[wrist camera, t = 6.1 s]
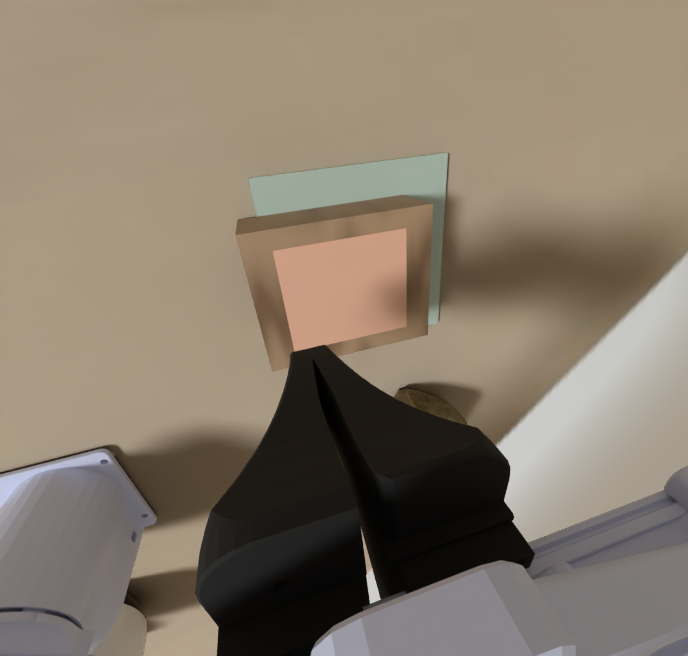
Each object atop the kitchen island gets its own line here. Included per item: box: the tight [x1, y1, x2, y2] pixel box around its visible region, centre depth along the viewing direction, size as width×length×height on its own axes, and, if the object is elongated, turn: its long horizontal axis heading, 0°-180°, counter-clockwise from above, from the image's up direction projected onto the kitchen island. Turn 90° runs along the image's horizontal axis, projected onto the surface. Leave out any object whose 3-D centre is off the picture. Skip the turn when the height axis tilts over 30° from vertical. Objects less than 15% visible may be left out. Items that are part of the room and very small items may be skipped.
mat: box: [248, 153, 448, 325], centre depth 21 cm, size 12×12×1 cm
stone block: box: [394, 389, 467, 425], centre depth 29 cm, size 6×12×5 cm, turn 156°
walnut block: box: [236, 195, 433, 372], centre depth 19 cm, size 8×4×10 cm
